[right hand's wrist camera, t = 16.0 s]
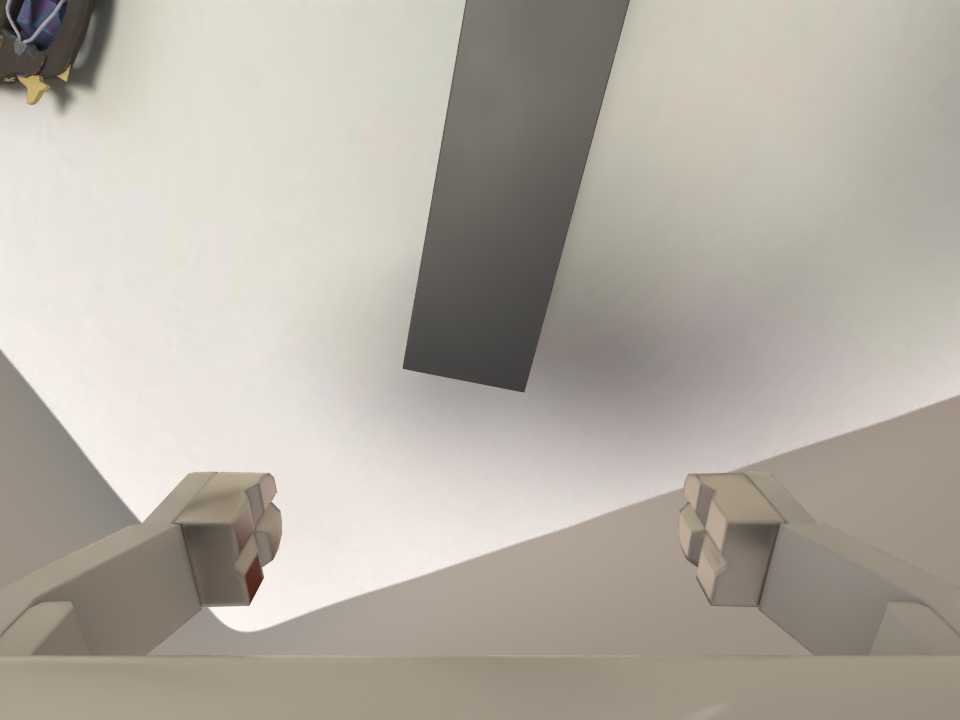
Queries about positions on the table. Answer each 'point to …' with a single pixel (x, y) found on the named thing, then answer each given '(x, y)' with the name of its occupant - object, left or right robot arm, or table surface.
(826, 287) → the table surface
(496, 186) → the box
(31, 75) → the toy gun
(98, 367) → the table surface
